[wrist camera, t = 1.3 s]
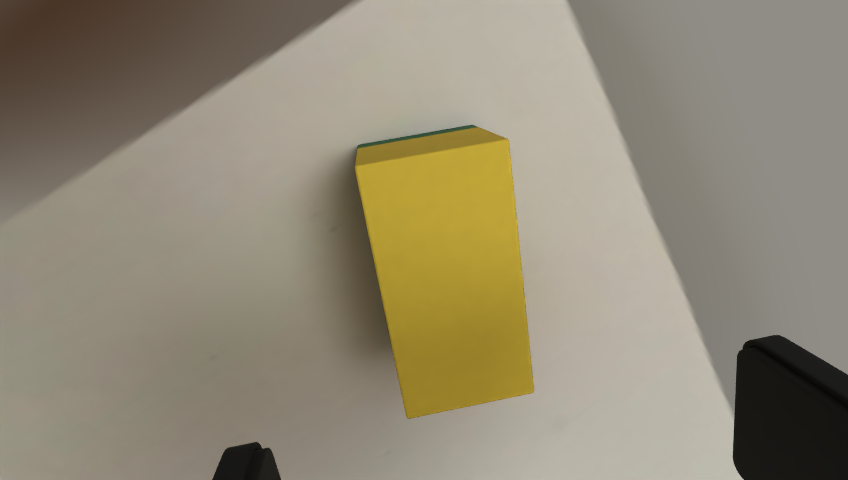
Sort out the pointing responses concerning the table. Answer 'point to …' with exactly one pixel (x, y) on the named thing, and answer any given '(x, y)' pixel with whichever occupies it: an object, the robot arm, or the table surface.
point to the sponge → (448, 266)
